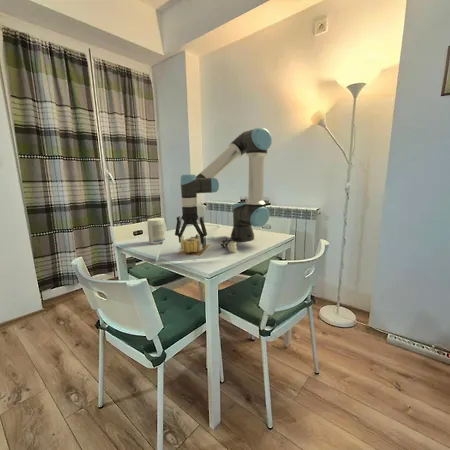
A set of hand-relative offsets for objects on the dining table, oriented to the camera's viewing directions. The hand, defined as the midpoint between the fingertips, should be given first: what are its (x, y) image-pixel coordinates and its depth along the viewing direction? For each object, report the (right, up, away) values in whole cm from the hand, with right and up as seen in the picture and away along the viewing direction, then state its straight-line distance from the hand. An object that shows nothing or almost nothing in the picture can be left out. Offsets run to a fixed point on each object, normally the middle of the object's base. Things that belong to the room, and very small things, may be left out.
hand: (191, 249), depth 130 cm
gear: (+2, 0, +10) cm, 10 cm away
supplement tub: (-25, +1, +26) cm, 36 cm away
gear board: (+1, -2, +5) cm, 6 cm away
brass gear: (0, 0, 0) cm, 0 cm away
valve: (+20, -2, +3) cm, 20 cm away
